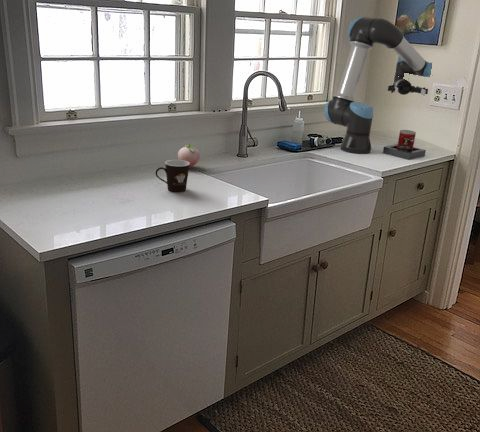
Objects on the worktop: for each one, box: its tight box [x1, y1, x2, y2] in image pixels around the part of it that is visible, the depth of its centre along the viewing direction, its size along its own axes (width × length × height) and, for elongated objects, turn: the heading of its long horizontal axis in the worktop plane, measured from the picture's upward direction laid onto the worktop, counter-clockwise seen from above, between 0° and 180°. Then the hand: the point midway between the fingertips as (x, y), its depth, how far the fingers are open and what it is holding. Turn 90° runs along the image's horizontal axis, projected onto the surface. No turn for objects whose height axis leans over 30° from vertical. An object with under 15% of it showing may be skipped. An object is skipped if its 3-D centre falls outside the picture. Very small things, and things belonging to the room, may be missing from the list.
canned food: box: [397, 129, 417, 152], centre depth 263 cm, size 8×8×11 cm
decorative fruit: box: [177, 143, 201, 169], centre depth 215 cm, size 9×8×10 cm
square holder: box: [382, 143, 427, 161], centre depth 265 cm, size 15×15×3 cm
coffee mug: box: [155, 159, 190, 194], centre depth 187 cm, size 12×9×10 cm
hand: (410, 91), depth 264 cm, fingers open, 13 cm apart
